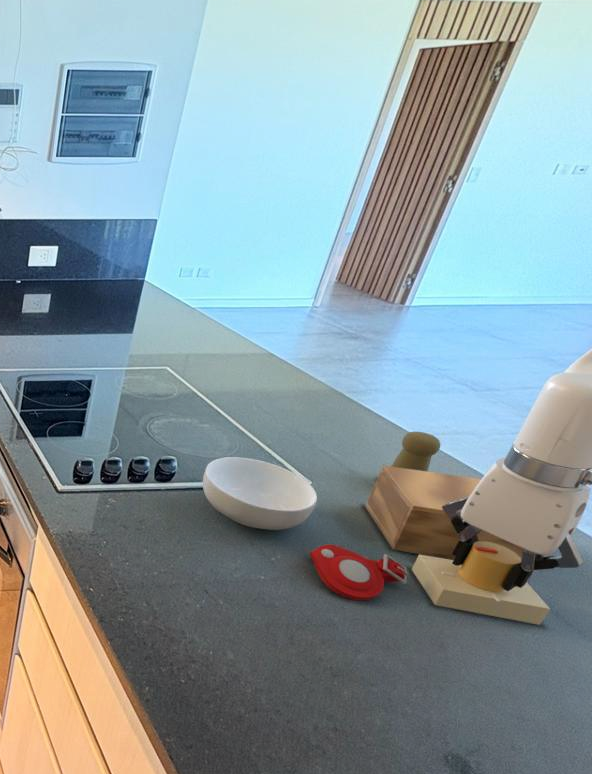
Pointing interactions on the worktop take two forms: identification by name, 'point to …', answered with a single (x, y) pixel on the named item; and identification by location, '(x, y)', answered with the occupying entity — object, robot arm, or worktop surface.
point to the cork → (417, 451)
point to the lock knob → (488, 565)
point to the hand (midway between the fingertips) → (484, 573)
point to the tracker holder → (355, 572)
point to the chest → (417, 525)
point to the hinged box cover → (429, 488)
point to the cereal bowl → (258, 493)
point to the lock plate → (476, 593)
